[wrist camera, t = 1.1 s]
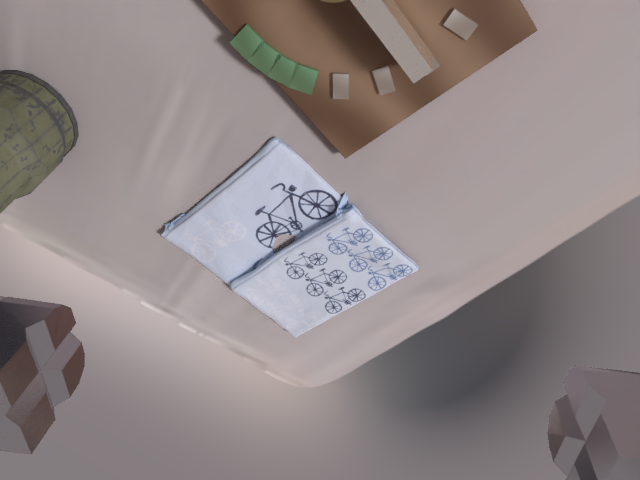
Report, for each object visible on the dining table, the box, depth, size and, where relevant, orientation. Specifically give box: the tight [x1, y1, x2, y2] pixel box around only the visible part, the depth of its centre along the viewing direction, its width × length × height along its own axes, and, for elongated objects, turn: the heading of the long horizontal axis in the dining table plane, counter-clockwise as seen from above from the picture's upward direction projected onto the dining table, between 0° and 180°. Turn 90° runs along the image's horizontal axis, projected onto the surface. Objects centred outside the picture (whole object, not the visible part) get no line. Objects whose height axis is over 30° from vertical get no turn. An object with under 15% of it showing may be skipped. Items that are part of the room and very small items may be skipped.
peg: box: [321, 0, 433, 83], centre depth 33 cm, size 11×4×5 cm, turn 41°
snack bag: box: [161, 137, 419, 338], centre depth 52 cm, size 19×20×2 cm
